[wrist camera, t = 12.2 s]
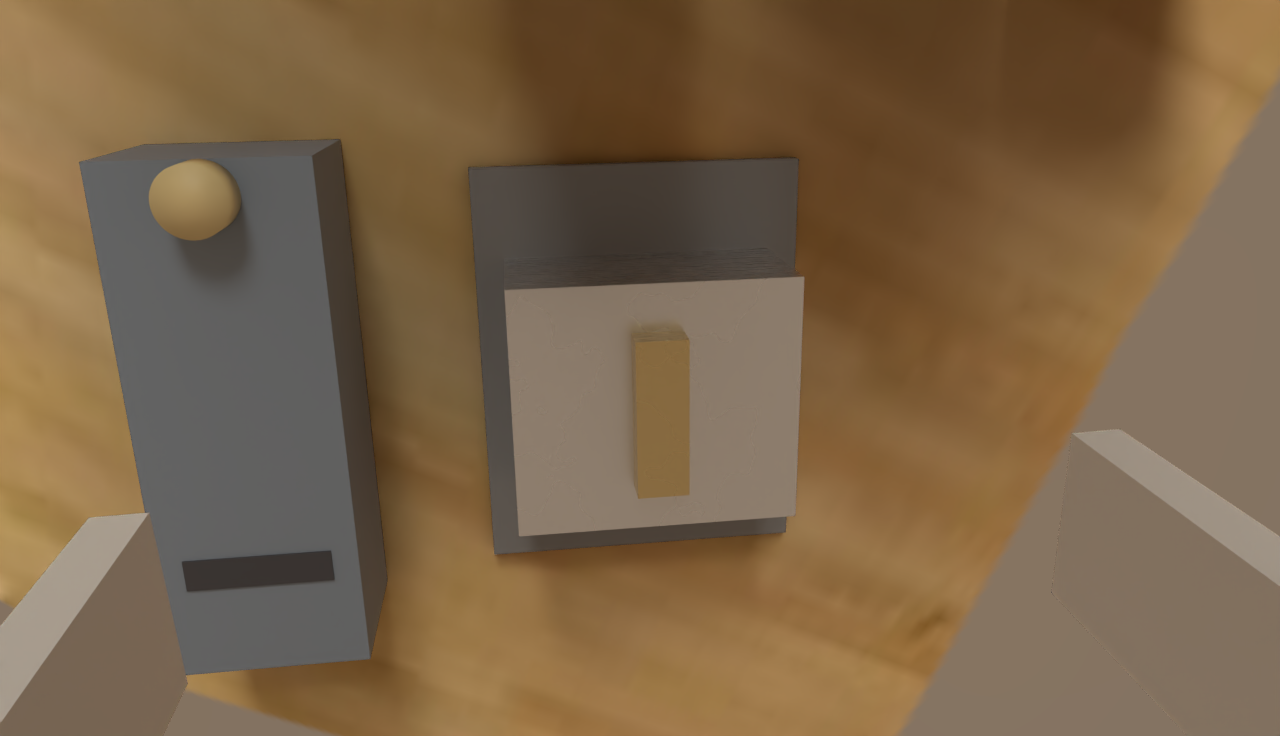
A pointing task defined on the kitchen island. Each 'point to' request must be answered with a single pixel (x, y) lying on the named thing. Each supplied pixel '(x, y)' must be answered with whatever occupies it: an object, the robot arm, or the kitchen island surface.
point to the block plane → (245, 394)
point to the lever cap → (653, 388)
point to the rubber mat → (603, 225)
